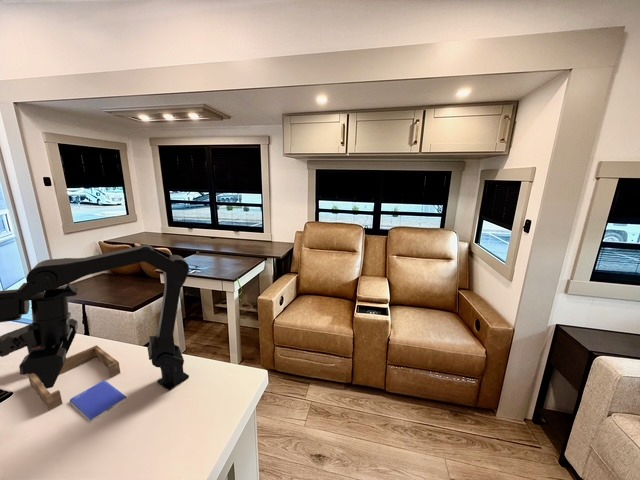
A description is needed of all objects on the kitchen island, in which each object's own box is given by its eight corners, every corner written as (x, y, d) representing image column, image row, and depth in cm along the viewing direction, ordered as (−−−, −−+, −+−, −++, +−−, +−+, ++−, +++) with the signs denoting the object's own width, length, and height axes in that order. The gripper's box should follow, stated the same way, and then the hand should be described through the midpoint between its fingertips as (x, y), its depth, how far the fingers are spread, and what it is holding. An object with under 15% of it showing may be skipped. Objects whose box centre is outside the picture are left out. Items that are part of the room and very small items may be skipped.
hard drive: (68, 399, 69) (90, 419, 63) (104, 379, 76) (127, 395, 70) (70, 404, 69) (91, 424, 64) (105, 383, 76) (127, 400, 71)
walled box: (120, 372, 80) (118, 362, 79) (49, 410, 66) (46, 397, 65) (98, 355, 88) (96, 345, 87) (30, 385, 74) (27, 374, 73)
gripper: (13, 304, 60) (18, 363, 63) (-26, 344, 46) (-18, 418, 48) (76, 298, 67) (79, 351, 69) (60, 330, 52) (64, 396, 55)
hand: (54, 375), depth 60 cm, fingers open, 9 cm apart
